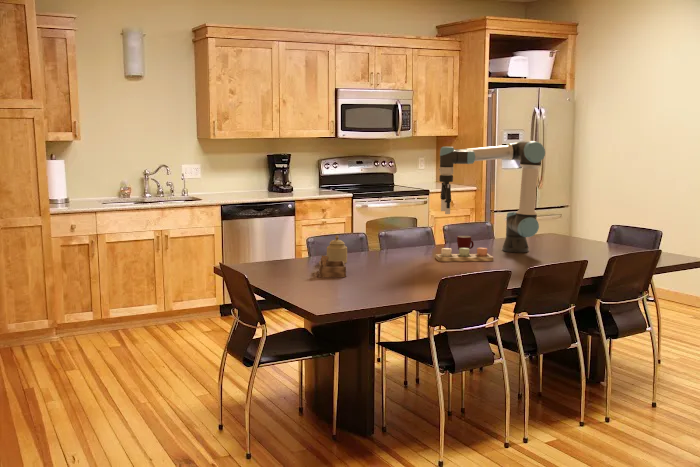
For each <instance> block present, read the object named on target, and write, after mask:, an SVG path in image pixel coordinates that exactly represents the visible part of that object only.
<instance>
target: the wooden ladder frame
mask: <svg viewBox="0 0 700 467" xmlns="http://www.w3.org/2000/svg"><path fill="white" fill-rule="evenodd" d="M434 257H435V259H436V260H437V261H438V262H494V256H493V255H491V254H489V253H487V256H484V257H482V256H477V253H469V256H468V257H462V256H459V253H452V255H451V257H443V256H441V253H439V254H438V253H436V254H435V256H434Z"/></svg>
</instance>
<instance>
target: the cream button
mask: <svg viewBox="0 0 700 467" xmlns="http://www.w3.org/2000/svg"><path fill="white" fill-rule="evenodd" d="M452 252H453V251H452V248H451V247H450V248H449V247H444V248H443V247H442V248H441V253H440V254H441V256H443V257H451V255H452V254H453V253H452Z"/></svg>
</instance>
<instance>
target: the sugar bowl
mask: <svg viewBox="0 0 700 467" xmlns="http://www.w3.org/2000/svg"><path fill="white" fill-rule="evenodd" d="M326 256H328V257H329V258H328V261H344V263H345V264H347V263H348V247H347V246H346V245H345V242H344V241H343V240H341V239H340V238H339V235H337V234H336V235H335V237H334V239H332V240H330V242H329V245H328V246H326Z"/></svg>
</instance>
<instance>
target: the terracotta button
mask: <svg viewBox="0 0 700 467" xmlns="http://www.w3.org/2000/svg"><path fill="white" fill-rule="evenodd" d="M476 254H477V256H482V257H484V256H487V254H488V248H487V247H476Z"/></svg>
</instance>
